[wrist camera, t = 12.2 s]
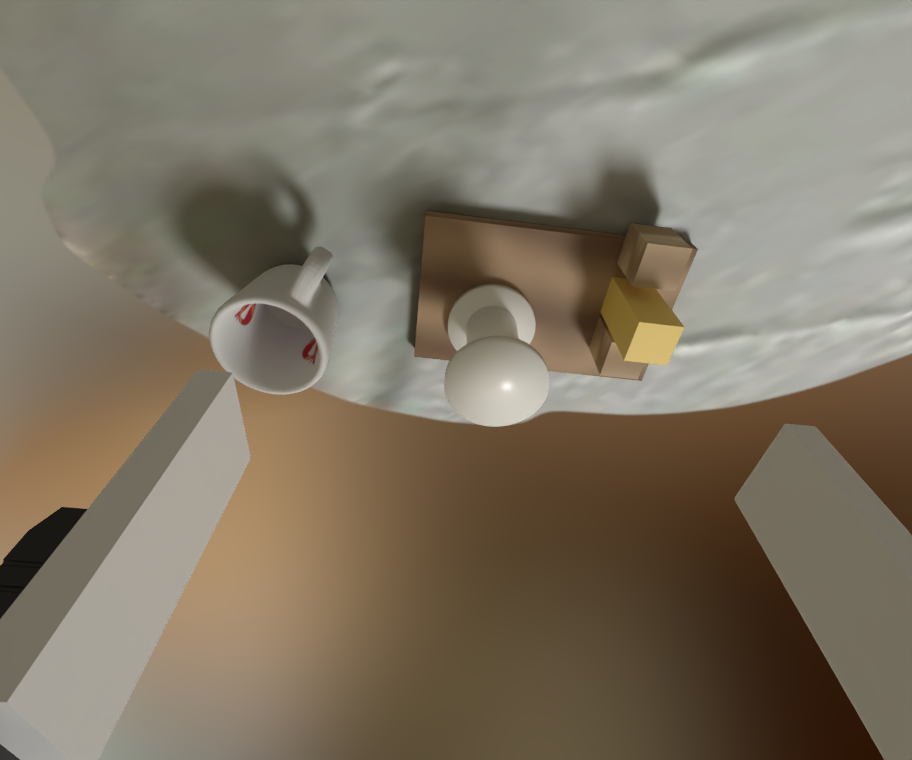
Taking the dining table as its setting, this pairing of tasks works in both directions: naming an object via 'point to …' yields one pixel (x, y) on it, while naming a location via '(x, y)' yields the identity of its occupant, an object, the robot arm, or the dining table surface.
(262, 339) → the cup
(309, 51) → the dining table surface
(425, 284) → the board
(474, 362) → the knob
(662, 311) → the yellow rectangular block
